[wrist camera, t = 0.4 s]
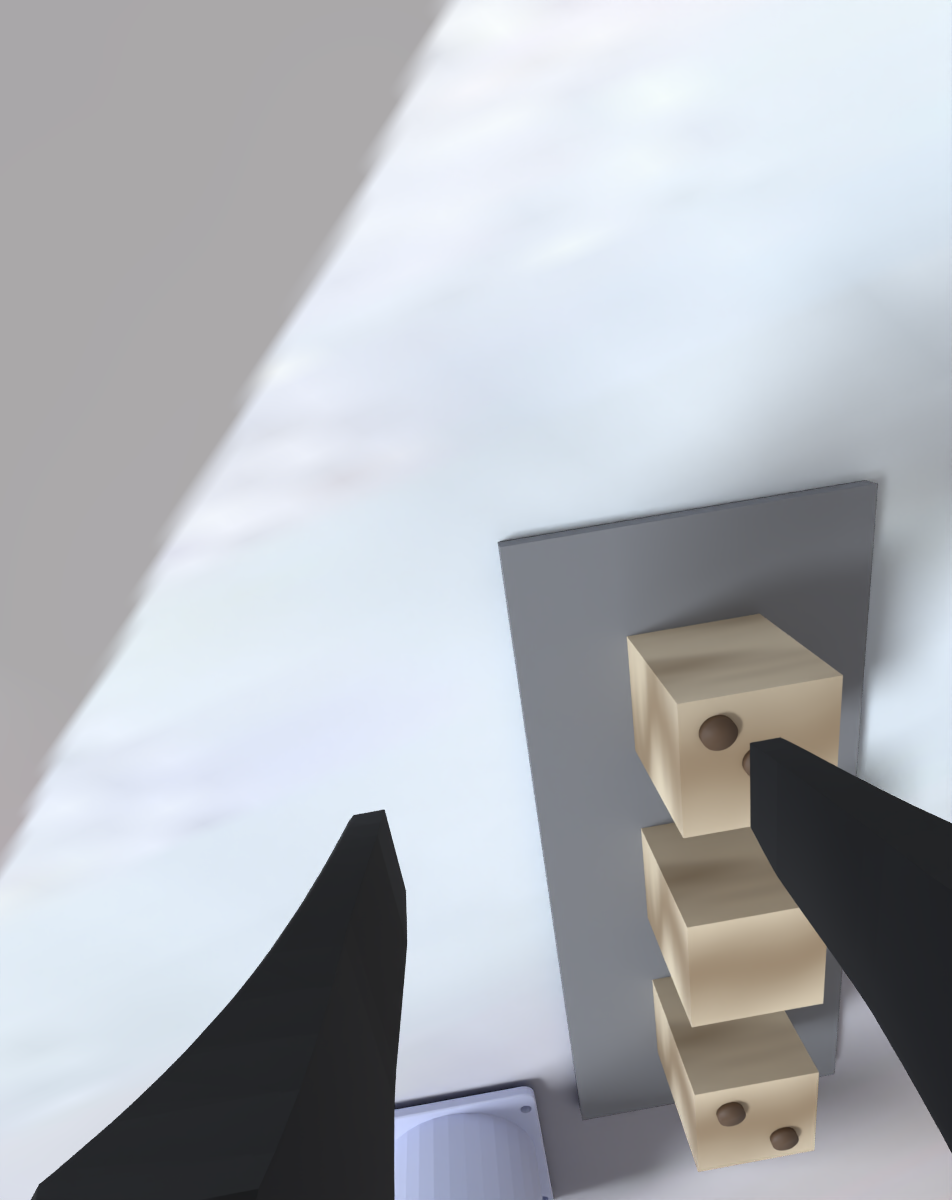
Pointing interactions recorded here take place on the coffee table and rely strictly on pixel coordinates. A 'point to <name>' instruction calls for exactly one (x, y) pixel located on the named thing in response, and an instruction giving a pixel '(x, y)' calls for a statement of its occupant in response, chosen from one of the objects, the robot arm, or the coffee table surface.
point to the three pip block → (724, 712)
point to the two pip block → (737, 1083)
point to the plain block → (728, 926)
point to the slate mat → (606, 733)
